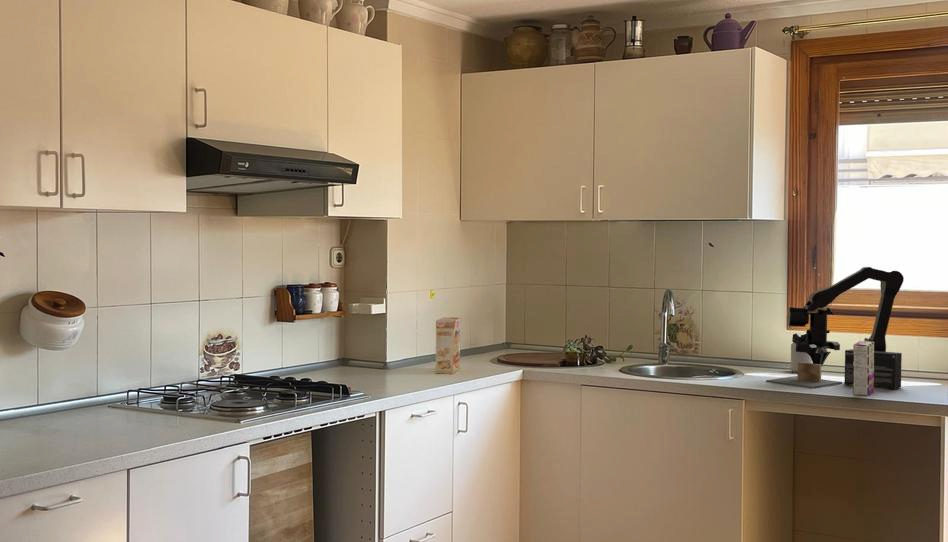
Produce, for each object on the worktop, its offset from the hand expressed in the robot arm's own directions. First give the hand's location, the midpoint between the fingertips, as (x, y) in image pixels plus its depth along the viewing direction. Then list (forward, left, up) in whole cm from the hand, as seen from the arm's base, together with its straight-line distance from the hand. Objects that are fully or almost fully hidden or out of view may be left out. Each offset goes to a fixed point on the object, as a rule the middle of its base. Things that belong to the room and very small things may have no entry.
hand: (817, 371), depth 328 cm
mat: (+1, +7, -4) cm, 8 cm away
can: (+17, -16, -4) cm, 24 cm away
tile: (0, +5, -3) cm, 5 cm away
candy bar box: (-23, +11, -4) cm, 26 cm away
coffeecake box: (+95, +91, -4) cm, 131 cm away
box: (-17, -6, -4) cm, 19 cm away
